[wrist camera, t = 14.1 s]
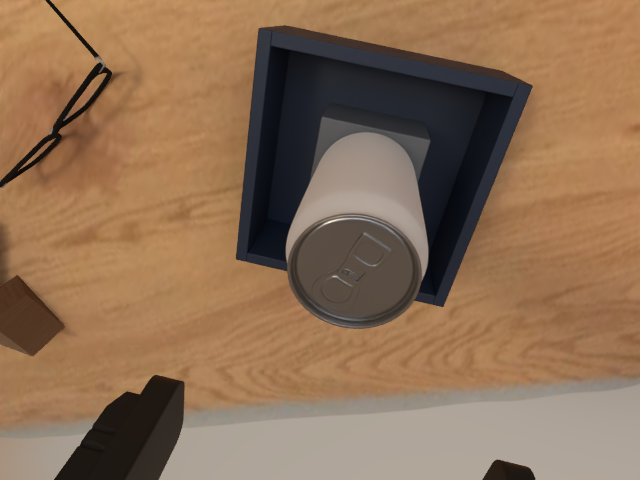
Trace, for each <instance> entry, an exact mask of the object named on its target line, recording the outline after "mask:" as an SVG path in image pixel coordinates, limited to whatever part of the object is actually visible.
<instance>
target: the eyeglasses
mask: <svg viewBox="0 0 640 480" xmlns="http://www.w3.org/2000/svg"><path fill="white" fill-rule="evenodd" d="M46 2H47V3H48V4H49V5H50V6H51V7H52V8H53V10H54V11H55V12H56V13H57V14H58V15H59V17H60V18H61V19H62V20H63V21H64V22H65V23H66V25H67V26H68V27H69V28H70V29H71V30H72V32H73V33H74V34H75V35H76V36H77V37H78V39H79V40H80V41H81V42H82V43H83V44H84V45H85V47H86V48H87V49H88V50H89V51H90V52H91V54H92V55H93V56H94V57H95V60H98V61H100V63H98V64H97V65H96V66H95V67H94V68H93V70H92V71H91V72H90V74H89V75H88V76H87V78H86V79H85V80H84V82H83V83H82V85H81V86H80V87H79V89H78V90H77V92H76V93H75V94H74V96H73V97H72V98H71V100H70V101H69V103H68V104H67V106H66V107H65V109H64V110H63V112H62V113H61V115H60V116H59V118H58V119H57V121H56V123H55V124H54V126H53V129H50V131H51V134H50V135H48V136H46V137H45V138H43V139H42V140H41V141H40V142H39V143H38V144H37V145H36V146H35V147H34V148H33V149H32V150H31V151H30V152H29V153H28V154H27V155H26V156H25V157H24V158H23V159H22V160H21V161H20V162H19V163H18V164H17V165H16V166H15V167H14V168H13V169H12V170H11V171H10V172H9V173H8V174H7V175H6V176H5V177H4V178H3V179H2V180H1V181H0V188H3V187H4V186H5V185H6V184H7V183H8V182H10V181H11V180H13V179H14V178H16V177H17V176H19V175H20V174H22V173H23V172H25V171H26V170H28V169H29V168H31V167H32V166H34V165H35V164H36V163H37V162H39V161H40V160H41V159H42V158H43V157H44V156H45V155H46V154H47V153H48V152H49V151H51V150H52V148H53V147H54V146H55V145H56V144H57V143H58V142H59V141H60V140H61V138H62V136H61V135H60V134H59V133H58V132H59V130H60V129H61V128H63V127H64V126H66V125H67V124H68V123H70V122H71V121H73V120H74V119H75V118H77V117H78V116H79V115H81V114H82V113H83V112H84V111H85V110H86V109H87V108H88V107H89V106H90V105H91V104H92V103H93V102H94V100H95V99H96V98H97V97H98V95H99V94H100V93H101V91H102V90H103V89H104V87H105V86H106V84H107V83H108V81H109V80H110V78H111V76H112V72H111V71H110V70H109V69H108V68H106V67H105V64H104V62H103V61H102V59H101V57H100V56H99V55H98V54H97V53H96V52H95V51H94V49H93V48H92V47H91V46H90V45H89V44H88V43H87V42H86V40H85V39H84V38H83V37H82V36H81V35H80V34H79V33H78V31H77V30H76V29H75V28H74V27H73V26H72V25H71V24H70V22H69V21H68V20H67V19H66V18H65V17H64V16H63V14H62V13H61V12H60V11H59V10H58V9H57V8H56V7H55V5H54V4H53V3H52V2H51V1H50V0H46ZM102 73H107V75H106V77H105V79H104V80H103V82H102V83H101V85H100V86H99V88H98V89H97V91H96V92H95V93H94V95H93V96H92V97H91V98H90V100H89V101H88V102H87V103H86V104H85V105H84V106H83V107H82V108H81V109H80V110H78V111H77V112H76V113H74V114H73V115H72V116H70V117H69V116H67V114H68V113H69V111H70V110H71V108H72V107H73V105H74V104H75V103H76V101H77V100H78V99H79V97H80V96H81V95H82V93H83V92H84V91H85V89H86V88H87V87H88V85H89V84H90V82H91V81H92V80H93V79H94V78H95V77H96V76H97V75H99V74H102ZM55 138H56V139H55ZM52 139H55V140H54V142H53V143H52V144H51V145H50V146H49V147H48V148H47V149H46V150H45V151H44V152H43V153H42V154H40V155H39V156H38V157H37V158H36V159H35V160H34V161H32V162H31V163H29V164H28V165H26V166H25V167H23V168H22V169H20V168H21V167H22V166H23V165H24V164H25V163H26V162H27V161H28V160H29V159H30V158H31V157H32V156H33V155H34V154H35V153H36V152H37V151H38V150H39V149H40V148H41V147H42V146H43V145H44V144H46V143H47V142H48V141H51V140H52ZM19 169H20V170H19ZM18 170H19V171H18Z"/></svg>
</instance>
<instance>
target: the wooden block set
mask: <svg viewBox="0 0 640 480" xmlns="http://www.w3.org/2000/svg"><path fill="white" fill-rule="evenodd" d="M64 327H65V326H64V325H63V324H62V323H61V322H60V321H59V320H58V319H57V318H56V317H55V316H54V315H53V313H52V312H51V311H50V310H49V309H48V308H47V307H46V306H45V305H44V304H43V303H42V302H41V301H40V299H39V298H38V297H37V296H36V295H35V294H34V293H33V292H32V291H31V290H30V289H29V288H28V287H27V286H26V284H25V283H24V282H23V281H22V280H21V279H20V278H19V277H18V276H15V277H14V278H13V279H11V280H10V281H8V282H7V283H5V284H4V285H3V286H1V287H0V344H1V345H3V346H6V347H9V348H11V349H14V350H17V351H20V352H22V353H25V354H28V355H30V356H34V355H35V354H36V353H37V352H38V351H40V350H41V349H42V348H43V347H44V346H45V345H46V344H47V343H48V342H49V341H50V340H51V339H52V338H53V337H54V336H55V335H56V334H57V333H58V332H59V331H60V330H62V329H63V328H64Z"/></svg>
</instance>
